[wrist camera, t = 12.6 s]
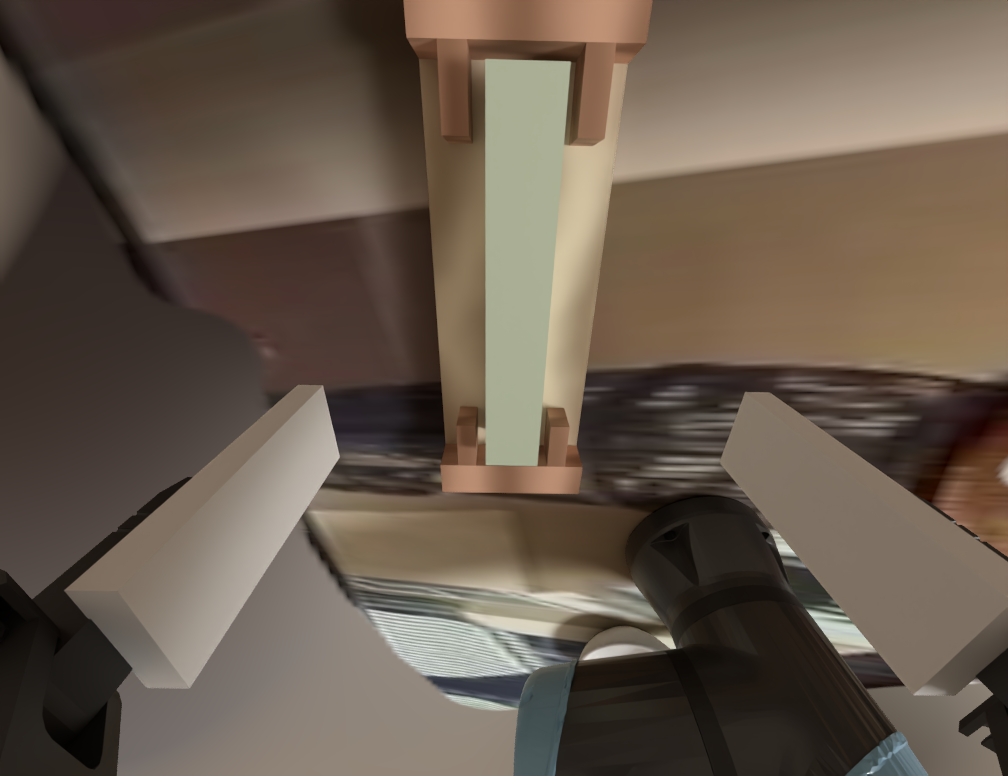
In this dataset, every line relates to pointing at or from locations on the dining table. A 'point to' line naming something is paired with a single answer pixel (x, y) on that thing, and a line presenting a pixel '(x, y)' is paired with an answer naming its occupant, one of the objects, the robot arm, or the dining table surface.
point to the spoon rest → (621, 643)
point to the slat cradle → (461, 209)
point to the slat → (520, 245)
